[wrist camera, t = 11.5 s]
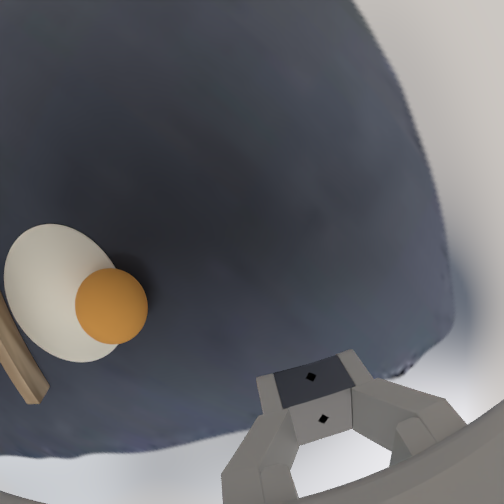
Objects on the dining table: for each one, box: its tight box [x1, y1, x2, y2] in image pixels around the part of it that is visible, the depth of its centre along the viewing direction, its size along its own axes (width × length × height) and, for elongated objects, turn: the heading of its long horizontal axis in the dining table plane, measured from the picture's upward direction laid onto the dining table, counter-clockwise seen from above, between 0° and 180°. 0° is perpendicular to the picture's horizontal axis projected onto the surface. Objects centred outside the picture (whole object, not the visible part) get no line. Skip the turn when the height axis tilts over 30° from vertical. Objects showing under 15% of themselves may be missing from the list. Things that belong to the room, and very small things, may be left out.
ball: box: [75, 268, 148, 344], centre depth 20 cm, size 6×6×6 cm
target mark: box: [4, 224, 118, 362], centre depth 22 cm, size 13×13×1 cm
